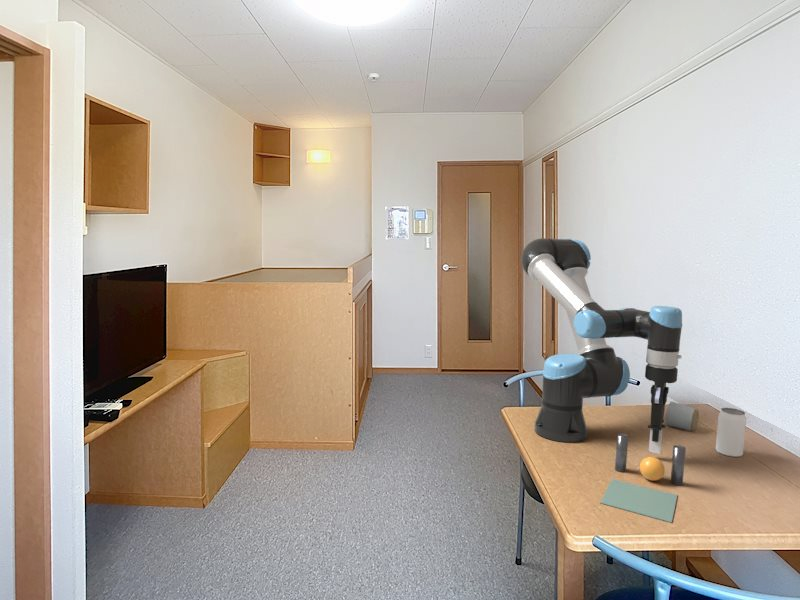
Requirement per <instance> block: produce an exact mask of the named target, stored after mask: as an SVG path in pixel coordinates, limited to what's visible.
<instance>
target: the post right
mask: <svg viewBox="0 0 800 600" xmlns="http://www.w3.org/2000/svg"><path fill="white" fill-rule="evenodd" d="M686 450H687V448H686V447H685V446H683V445H680V444H679V445H678V444H675V445H673V448H672V460H671V472H670V484H672V485H673V486H678V487H682V486H683V483H684V473H685V472H684V471H685V462H686Z"/></svg>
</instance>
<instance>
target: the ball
mask: <svg viewBox="0 0 800 600" xmlns="http://www.w3.org/2000/svg"><path fill="white" fill-rule="evenodd" d="M639 471H640V473H641V475H642V476H643V477H644V478H645V479H647V480H648V481H652V482H653V481H659V480H661V479H662V478H663V477H664V475H665V473H666V472H665V471H666V468H665V466H664V463H663V462H662V461H661V460H660V459H658V458H657V457H653V456H647V457H645V458H643V459H642V460H641V462H640V464H639Z"/></svg>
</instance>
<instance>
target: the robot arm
mask: <svg viewBox="0 0 800 600" xmlns="http://www.w3.org/2000/svg"><path fill="white" fill-rule="evenodd" d="M520 257H521V258H520V262H521V266H522V269H523V271H524V272H525V273H526V275H528V277H529V278H530V279H531V280H533V281H538V282H539V283H540V285H542V287H543V288H544V289H545V290H546V291H547V293H549V294H550V295H551V296H552V297H553V298H554V299H555V301H556V302H558V304H560V306H561V307H562V308H563V309H564V310H566V314H567V317H568V321H569V324H570V328H571V331H572V334H573V337H574V341H575V344H576V347H577V351H578V353H577V354H575V353H568V354H567V353H561V354H560V353H558V354H554V355H551V356H549V357H547V358H546V360H545V361H544V363H543V364H544V366H543V370H542V375H543V376H542V377H543V378H542V393H541V394H542V395H541V406H540V409H539V411H538V414H537V416H536V419H535V420H534V421H535V422H534V426H533V427H534V429H533V430H534V433H536V434H537V435H539V436H540V437H543V439H544V438H545V439H547V440H551V441H556V442H564V443H578V442H582V441H585V440H586V439H587V437H588V426H587V423H586V420H585V417H584V416H585V415H584V412H583V403H584V402H583V401H584V399H588V398H589V399H590V398H600V397H605V398H606V397H608V398H609V397H612V396H618V395H620V394H622V393H624V392H625V391H626V389H627V388H628V384H629V383H630V381H631V371H630V368H629V365H628V362H627V361H626V360H625V359H624V358H622V357H620V356H617V355H616V352H615V350H614V348H613V347H612V346H610V345H608V344H607V342H606V339H607V338H608V339H609V338H610V339H611V338H640V339H642V340H643V339H644V340H647V345H646V346H647V347H646V357H645V363H647V364H645V372H644V373H645V374H644V377H645V379H647V380H648V381H650V382H654V384H652V385H651V386H650V394H651V395H650V403H651V407H650V424H649V425H647V429H649V443H648V452H650V453H654V454H658V455H660V454H661V452H662V450H661V449H662V438H663V429H666V426H667V425H666V424H664V423H665V418H664V417H665V408H666V403H667V400H668V394H669V392H670V391H669V390H670V387H669V386H667V384H674V383H676V382H677V380H678V368H677V367H678V365H679V360H680V359H681V360H682V354H679V353H680V345H681V336H682V329H683V310H682V309H680V308H678V307H675V306H667V305H654V306H651V307H650V309H649V310H650V311H647V310H642V309H636V308H633V307H622V308H619V309H608V310H607V309H605V308H603V307H602V306H601V305H600V304H598V302H597V301H595V300H594V299H593V297H592V295H591V292H590V290H589V287H588V284H587V280H586V276H587V275H588V271H589V268H590V266H591V259H592V256H591V252H590V249H589V248H588V246H587V245H586V244H585V243H584V242H583V241H581V240H578V239H573V238H545V237H544V238H542V237H541V238H536V239H534V240H532V241H530V242H529V243H527V244H526V246H524V248H523V250H522V252H521V256H520Z"/></svg>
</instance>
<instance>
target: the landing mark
mask: <svg viewBox="0 0 800 600" xmlns="http://www.w3.org/2000/svg"><path fill="white" fill-rule="evenodd" d="M677 498H678V494H675V493H672V492H668V491H663V490H659V489H655V488H651V487H647V486H643V485H639V484H635V483H632V482H631V483H630V482H627V481H624V480H623V481H622V480H619V479H616V478H615V479H614V478H611V481H610V483H609V484H608V485H607V489H606V490H605V492H604V494H603V496H602V498H601V499H600V504H602V505H606V506H609V507H612V508H615V509H619V510H623V511H627V512H631V513H634V514H638V515H641V516H644V517H648V518H653V519H656V520H660V521H662V522H666V523H671V524H672V522H673V519H674V513H675V507H676V504H677Z"/></svg>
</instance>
